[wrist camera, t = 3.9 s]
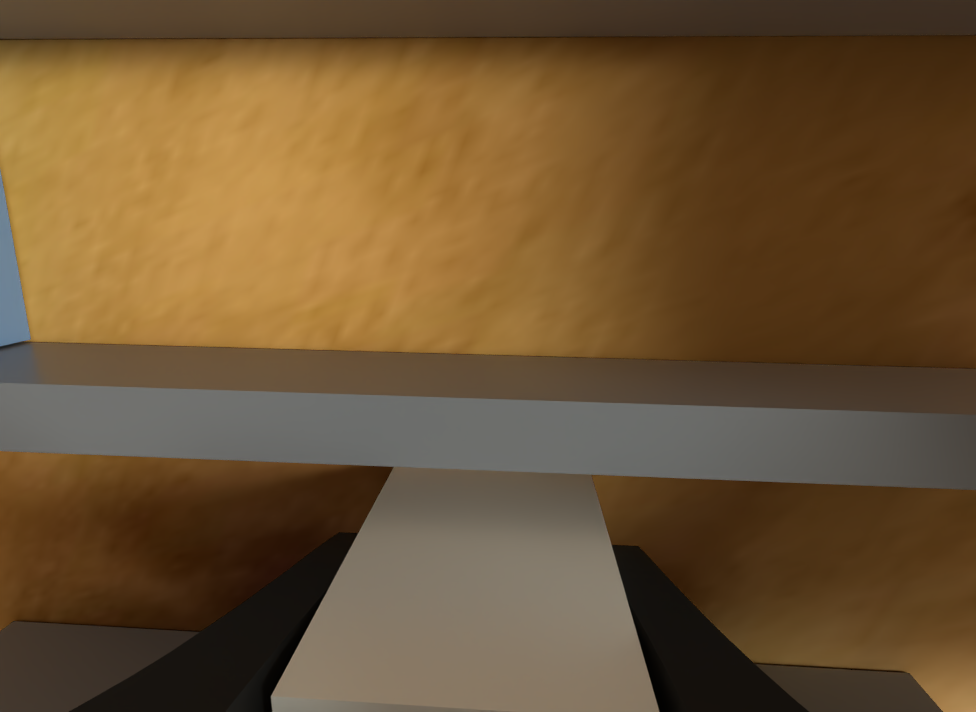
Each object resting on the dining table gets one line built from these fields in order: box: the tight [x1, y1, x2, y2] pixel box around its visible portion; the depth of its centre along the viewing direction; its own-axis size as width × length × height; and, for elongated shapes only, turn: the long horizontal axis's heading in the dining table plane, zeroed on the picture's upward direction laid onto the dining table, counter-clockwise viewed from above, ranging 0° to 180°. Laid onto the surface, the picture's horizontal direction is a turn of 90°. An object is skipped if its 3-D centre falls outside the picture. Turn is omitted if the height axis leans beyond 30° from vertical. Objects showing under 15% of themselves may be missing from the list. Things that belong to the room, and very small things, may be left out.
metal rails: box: [0, 0, 976, 712], centre depth 8 cm, size 18×14×3 cm
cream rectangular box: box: [271, 467, 659, 712], centre depth 8 cm, size 4×3×5 cm
